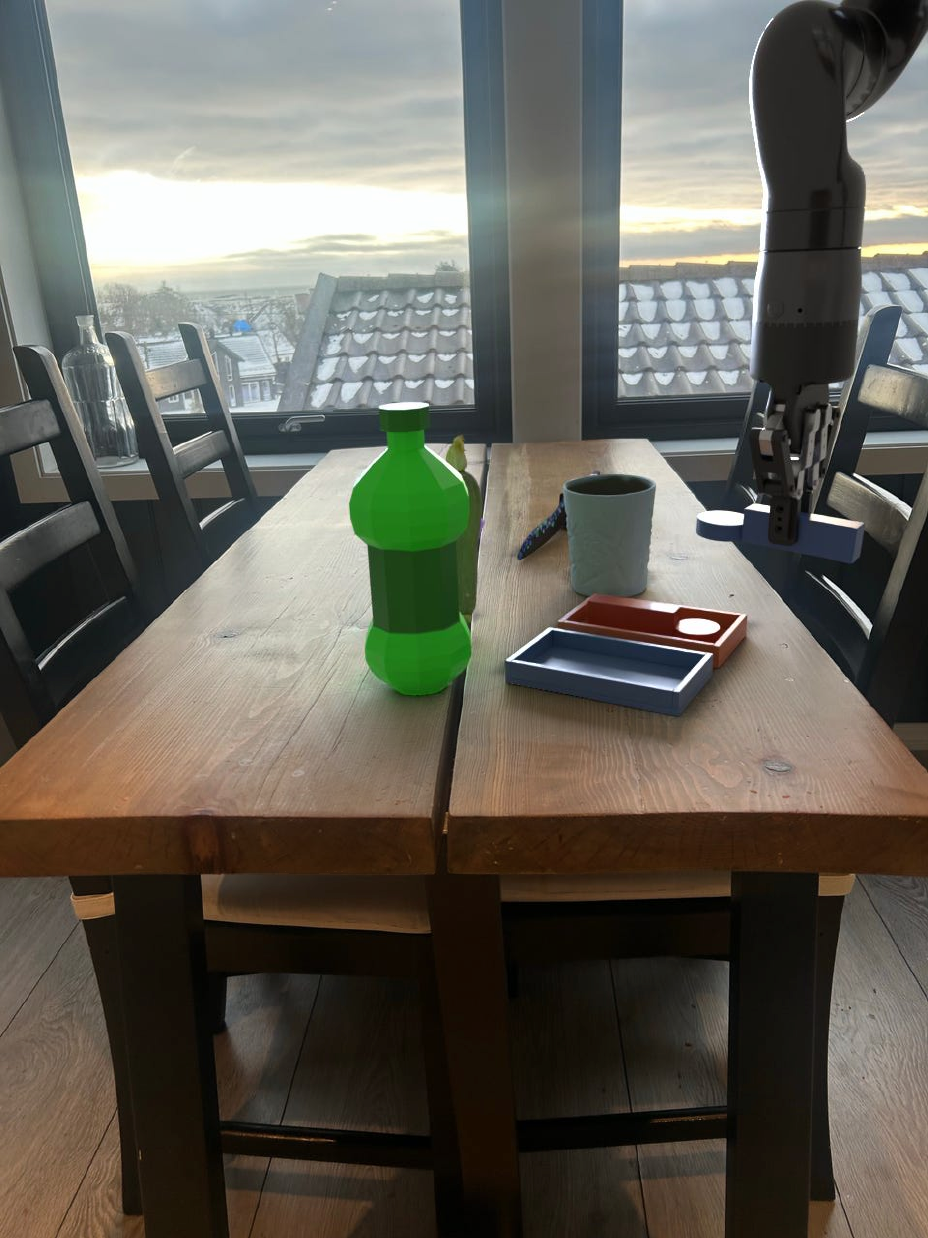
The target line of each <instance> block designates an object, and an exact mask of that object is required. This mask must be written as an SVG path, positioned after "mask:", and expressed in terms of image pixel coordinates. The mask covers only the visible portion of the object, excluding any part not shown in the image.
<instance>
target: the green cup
mask: <svg viewBox="0 0 928 1238" xmlns="http://www.w3.org/2000/svg"><path fill="white" fill-rule="evenodd" d="M589 475H590V474H589ZM589 475H586V476H585V475H584V476H579V477H576V478H572V479H570V480H567V481H566V482H564V484H563V486H562V493H563V495H564V504H565V511H566V514H567V518H566V521H567V526H566V530H567V538H568V541H567V544H568V555H569V567H570V580H571V587H572V589H573V590H574V592H576V593H577V594H580V595H583V596H586V597H588V598H589V597H590V596H592V595H593V594H594V593H596V594H603V595H610V596H617V597H625V598H631V597H634V596H638V595H639V594H642V593H643V592H645V590H646V589H647V585H648V578H649V577H648V576H649V568H648V566H649V562H650V554H651V549H650V547H651V543H652V542H651V540H652V529H653V518H654V517H653V516H654V507H655V499H656V491H657V483H656V482H655V481H654V480H652V479H651V478H649V477H645V476H640V475H633V474H625V473H602V474H601V473H600V475H590V476H589Z"/></svg>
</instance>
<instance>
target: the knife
mask: <svg viewBox="0 0 928 1238" xmlns="http://www.w3.org/2000/svg"><path fill="white" fill-rule="evenodd" d="M600 474H601V472H600V470H593V471H592V472H591V473H590V474H589V475H588V476H590V475H600ZM566 518H567V514H566V511H565V504H564V495H563V492H560V493H559V497H558V506H557V507H556V509H555V510H554V511H553V512H552V514H550V515H549V516H548V517H547V518H546V519H545V520H544V521H542V522H541V523H540V524H539V525H537V526H536V527H535V528H534V529H532V530H531V532H530V533H529V534H528V535H527V537H526V538H525V540H524V542H523V543H522V545H521V547H520V549H519V552H518V554H517V556H516V559H517V561H521V560H525V559H527V558H528V557H529V556H531V555H533V553H535V552H537V551H538V550H539V549H541V547H543V546H545V544H546V543H548V542H549V541H550V540H551V539H552V537H554V536H555V535H556V534H557V533H558V532H559V531H560V530H561V529H562V528H563V527H567V521H566Z"/></svg>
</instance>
